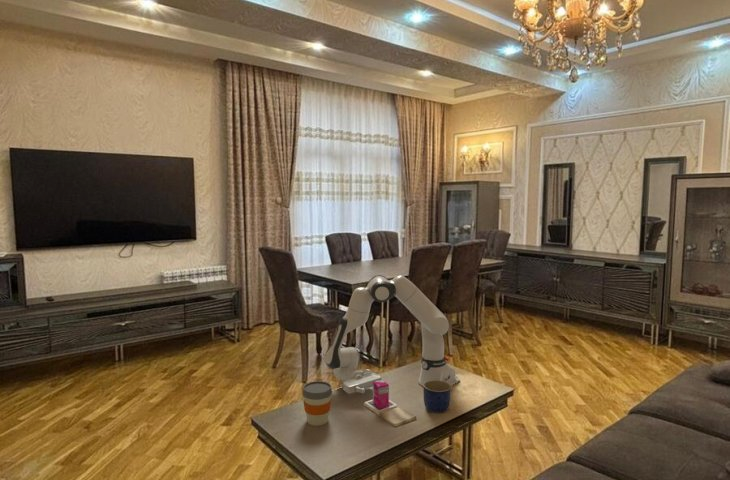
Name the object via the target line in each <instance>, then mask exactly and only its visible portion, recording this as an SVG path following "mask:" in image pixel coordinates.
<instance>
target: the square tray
mask: <svg viewBox="0 0 730 480" xmlns="http://www.w3.org/2000/svg"><path fill="white" fill-rule="evenodd" d="M363 406H364V407H366V408H367V409H368V410H371V412H374V413H375V414H376V415H378V416H379V414H380V413H383V412H386V411H389V410H392V409H395V408H397V407H399V406H398V404H396V403H395V402H393V401H392V400H390V399H389V407H387V408H384V409H381V410H378V409H376V407H375V406H373V399H370V400H368V401H367V400H366V401H364V403H363Z"/></svg>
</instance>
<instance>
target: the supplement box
mask: <svg viewBox="0 0 730 480" xmlns="http://www.w3.org/2000/svg"><path fill="white" fill-rule="evenodd" d="M389 387H390V385H389V383H387V382H386V381H385V380H384V379H382V380H381V381H376V382H373V387H372V400H373V404H372V406H373V407H375V408H376V409H378V410H381V409H384V408H387V407H390V405H389V400H390V393H389V392H390V391H389V390H390V388H389Z"/></svg>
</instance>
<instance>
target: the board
mask: <svg viewBox="0 0 730 480" xmlns="http://www.w3.org/2000/svg"><path fill="white" fill-rule="evenodd" d="M378 416H379V418H381V419H383V420H385V421H386V422H387V423H389V424H390V425H391V426H393V427H398V426H400V425H403V424H405V423H408V422H411V421H413V420H416V419H417V415H415V414H413V413H412V412H410V411H408V410H406V409H405V408H403V407H401V406H398V407H397V408H395V409H392V410H389V411H386V412H383V413H380V414H379V415H378Z"/></svg>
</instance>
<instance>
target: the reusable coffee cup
mask: <svg viewBox="0 0 730 480" xmlns="http://www.w3.org/2000/svg"><path fill="white" fill-rule="evenodd" d="M332 390H333V389H332V384H331V383H330V382H326V381H322V380H320V381H319V380H317V381H311V382H308V383H305V384H304V385H303V387H302V395H303V396H302V397H303V401H302V402H303V407H304V412H305V415H306V421H307V423H308V424H309V425H311V426H315V427H316V426H318V427H319V426H322V425H326V424H327V423H328V421H329V413H330V411H331V404H332V395H333V391H332Z"/></svg>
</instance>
